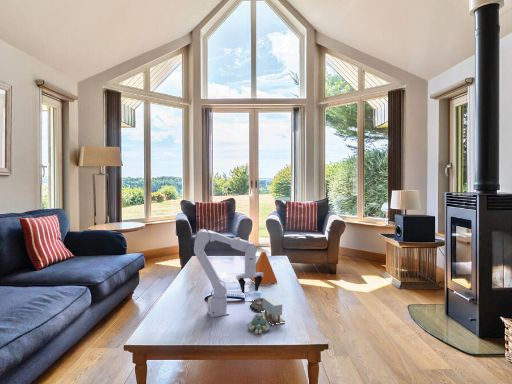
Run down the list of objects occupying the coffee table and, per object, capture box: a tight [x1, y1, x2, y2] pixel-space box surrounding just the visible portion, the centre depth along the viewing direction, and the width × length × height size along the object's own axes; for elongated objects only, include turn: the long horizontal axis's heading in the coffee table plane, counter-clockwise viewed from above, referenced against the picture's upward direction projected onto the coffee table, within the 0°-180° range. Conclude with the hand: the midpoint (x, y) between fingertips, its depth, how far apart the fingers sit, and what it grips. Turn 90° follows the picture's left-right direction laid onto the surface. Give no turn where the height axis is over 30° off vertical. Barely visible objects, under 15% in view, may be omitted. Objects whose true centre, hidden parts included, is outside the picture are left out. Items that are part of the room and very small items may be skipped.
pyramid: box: [249, 251, 278, 285], centre depth 224 cm, size 16×16×20 cm
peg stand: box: [259, 310, 286, 325], centre depth 162 cm, size 7×13×4 cm, turn 25°
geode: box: [249, 297, 265, 313], centre depth 179 cm, size 19×4×15 cm
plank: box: [262, 296, 283, 316], centre depth 162 cm, size 4×12×5 cm, turn 25°
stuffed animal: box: [247, 313, 272, 335], centre depth 151 cm, size 11×7×12 cm
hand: (249, 291), depth 171 cm, fingers open, 7 cm apart
